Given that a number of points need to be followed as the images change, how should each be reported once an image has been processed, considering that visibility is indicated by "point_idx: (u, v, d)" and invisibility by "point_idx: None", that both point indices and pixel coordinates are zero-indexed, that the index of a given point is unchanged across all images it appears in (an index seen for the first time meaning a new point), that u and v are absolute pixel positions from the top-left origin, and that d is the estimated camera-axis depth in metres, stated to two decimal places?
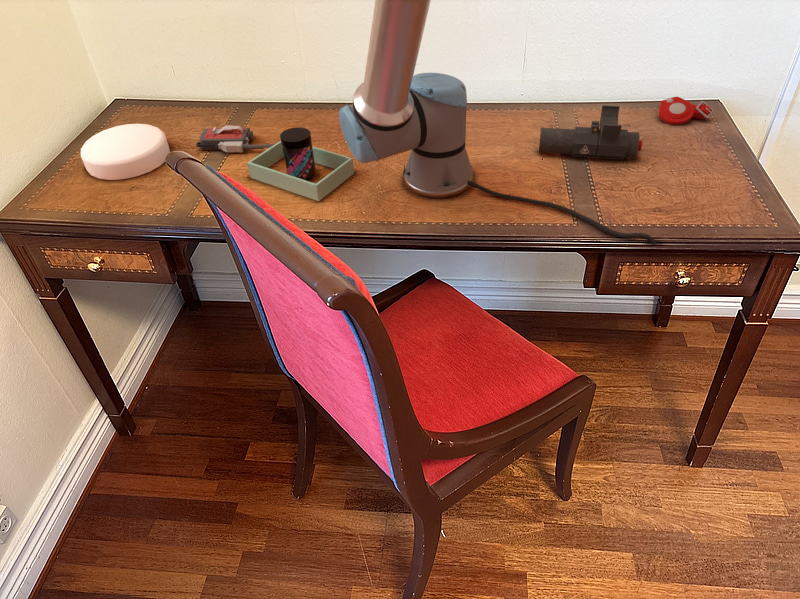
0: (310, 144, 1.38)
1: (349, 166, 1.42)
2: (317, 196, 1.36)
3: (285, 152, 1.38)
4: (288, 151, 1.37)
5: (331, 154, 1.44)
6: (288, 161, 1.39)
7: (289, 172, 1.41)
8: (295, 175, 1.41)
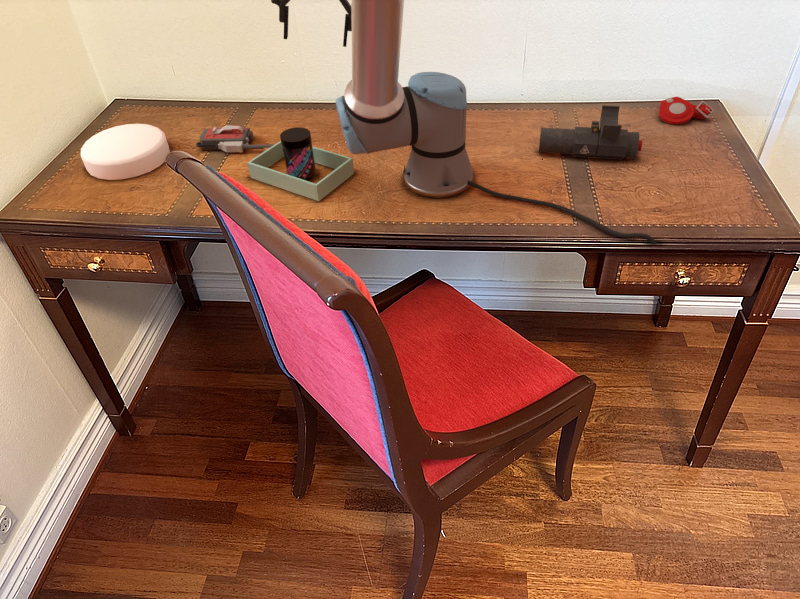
0: (310, 144, 1.38)
1: (349, 166, 1.42)
2: (317, 196, 1.36)
3: (285, 152, 1.38)
4: (288, 151, 1.37)
5: (331, 154, 1.44)
6: (288, 161, 1.39)
7: (289, 172, 1.41)
8: (295, 175, 1.41)
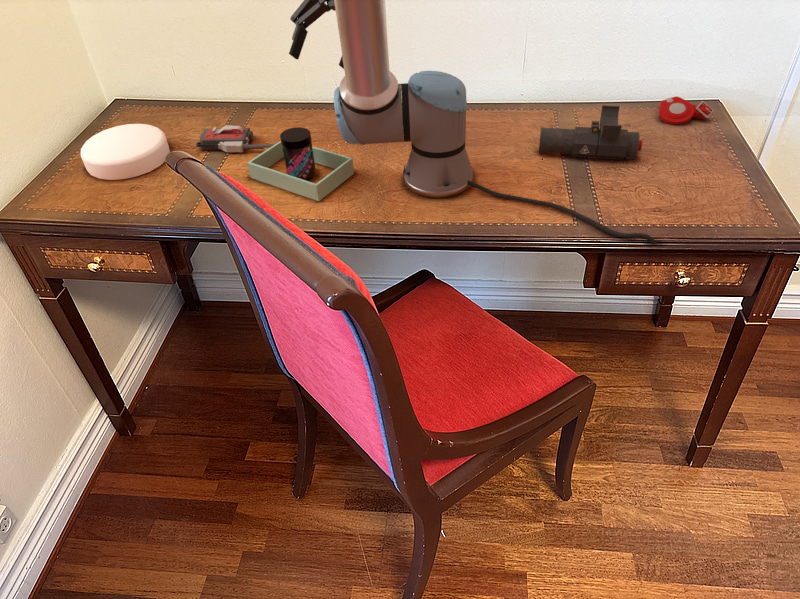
0: (310, 144, 1.38)
1: (349, 166, 1.42)
2: (317, 196, 1.36)
3: (285, 152, 1.38)
4: (288, 151, 1.37)
5: (331, 154, 1.44)
6: (288, 161, 1.39)
7: (289, 172, 1.41)
8: (295, 175, 1.41)
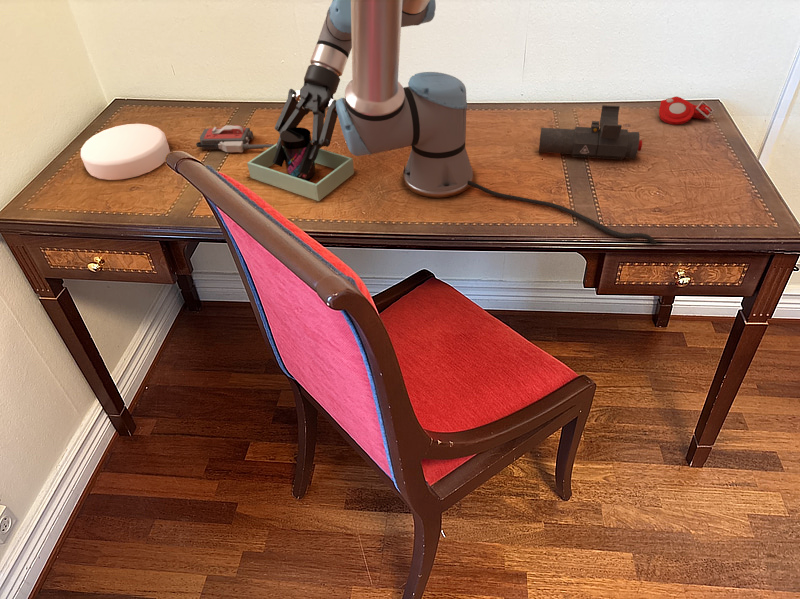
0: None
1: (349, 166, 1.42)
2: (317, 196, 1.36)
3: (285, 152, 1.38)
4: (288, 151, 1.37)
5: (331, 154, 1.44)
6: (288, 161, 1.39)
7: (289, 172, 1.41)
8: (295, 175, 1.41)
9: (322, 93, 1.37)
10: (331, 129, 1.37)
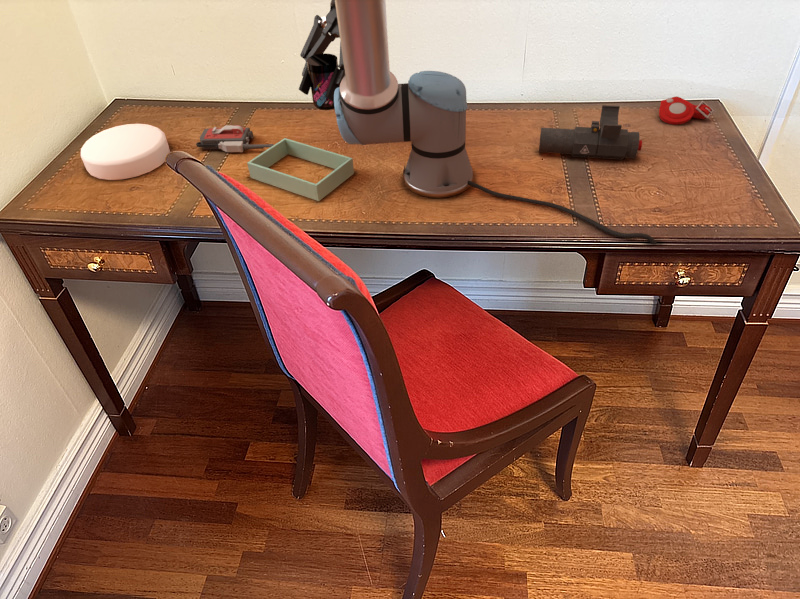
0: None
1: (349, 166, 1.42)
2: (317, 196, 1.36)
3: (312, 77, 1.37)
4: (315, 76, 1.36)
5: (331, 154, 1.44)
6: (315, 88, 1.38)
7: (315, 99, 1.40)
8: (321, 102, 1.40)
9: None
10: None
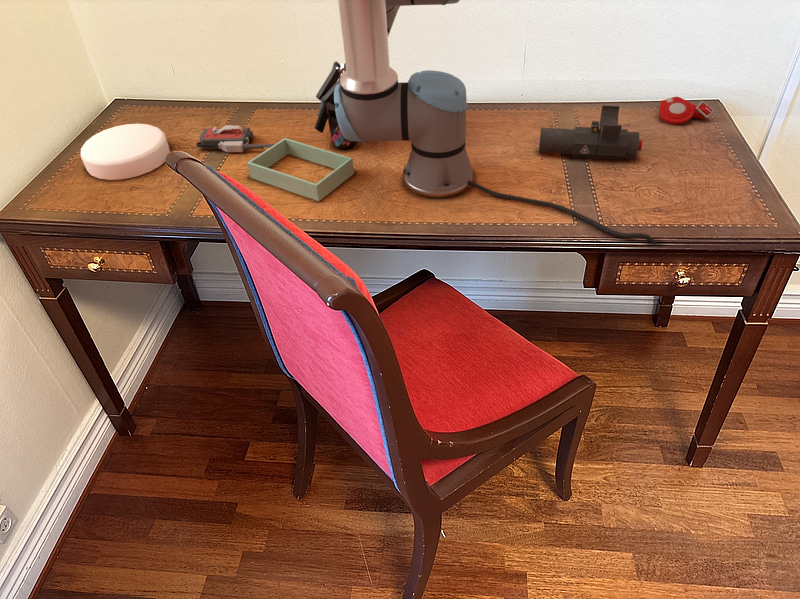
0: None
1: (349, 166, 1.42)
2: (317, 196, 1.36)
3: (331, 121, 1.48)
4: (334, 120, 1.47)
5: (331, 154, 1.44)
6: (333, 130, 1.49)
7: (333, 140, 1.51)
8: (339, 143, 1.51)
9: None
10: None
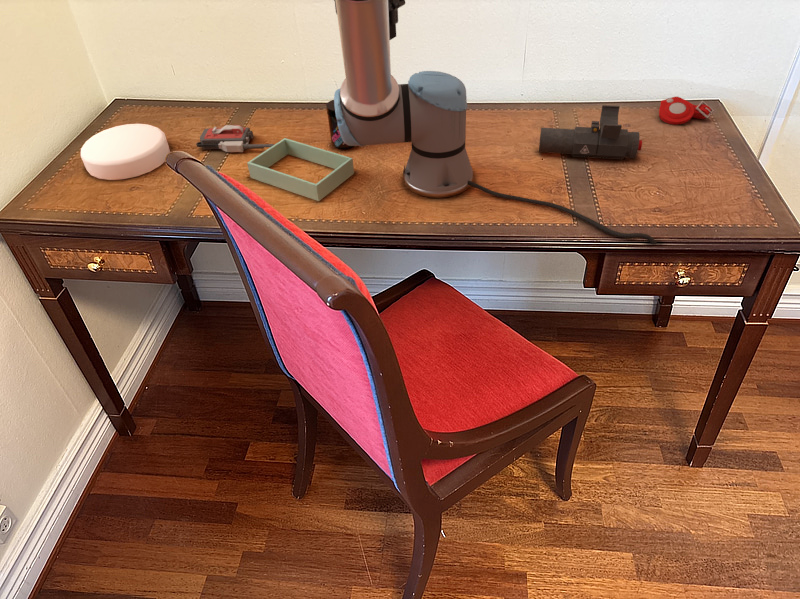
0: None
1: (349, 166, 1.42)
2: (317, 196, 1.36)
3: (331, 121, 1.48)
4: (334, 119, 1.47)
5: (331, 154, 1.44)
6: (333, 130, 1.49)
7: (333, 140, 1.51)
8: (339, 143, 1.51)
9: None
10: None
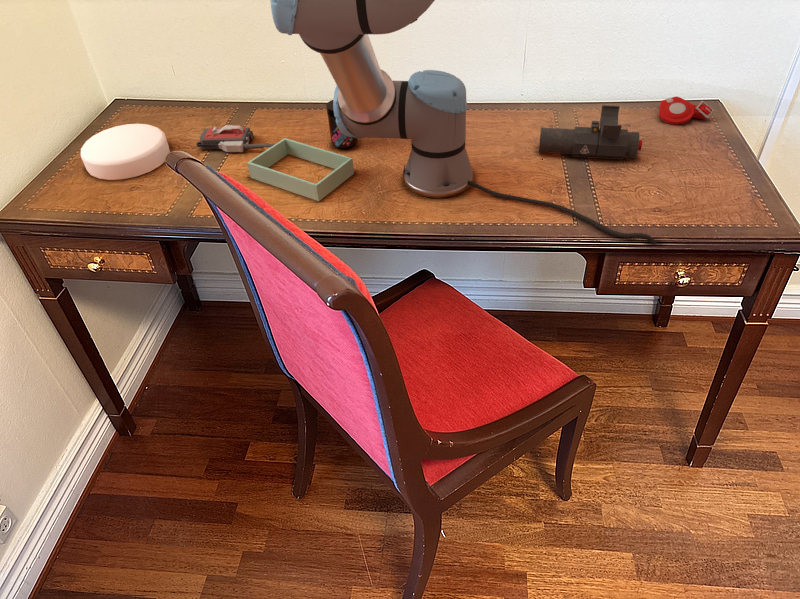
0: None
1: (349, 166, 1.42)
2: (317, 196, 1.36)
3: (331, 121, 1.48)
4: (334, 119, 1.47)
5: (331, 154, 1.44)
6: (333, 130, 1.49)
7: (333, 140, 1.51)
8: (339, 143, 1.51)
9: None
10: None
